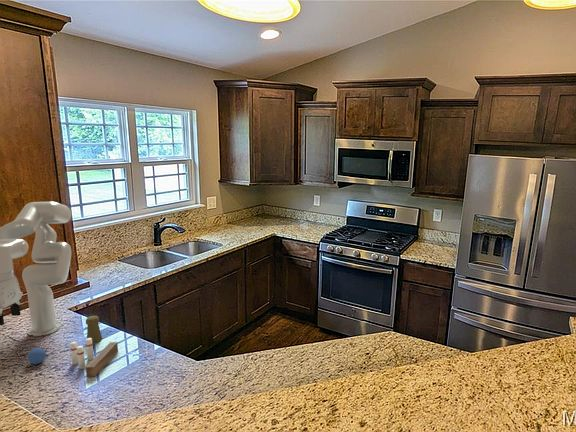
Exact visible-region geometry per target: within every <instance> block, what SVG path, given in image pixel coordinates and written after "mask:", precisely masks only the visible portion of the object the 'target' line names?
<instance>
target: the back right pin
mask: <svg viewBox="0 0 576 432" xmlns="http://www.w3.org/2000/svg"><path fill="white" fill-rule="evenodd" d="M77 356H78V364H77V365H78V369H79V370H84V369H86V361H85V351H84V346H83V345H77Z"/></svg>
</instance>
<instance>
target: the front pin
mask: <svg viewBox="0 0 576 432" xmlns="http://www.w3.org/2000/svg"><path fill="white" fill-rule="evenodd" d="M69 347H70V354H71V355H70V356H71V364H72V366H73V365H78V356H77V347H78V342H77V341H72V342H70V343H69Z"/></svg>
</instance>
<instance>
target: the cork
mask: <svg viewBox="0 0 576 432" xmlns="http://www.w3.org/2000/svg"><path fill="white" fill-rule="evenodd" d="M99 322H100V317H99V316H98V315H90V316H88V317H87V318H86V319H85V325H87V329H86V330H87V332H86V339H87V338H92V344H93V345H94V344H98V343H99V342H101V341H102V340H103V337H102V333H101V329H100V324H99Z"/></svg>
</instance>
